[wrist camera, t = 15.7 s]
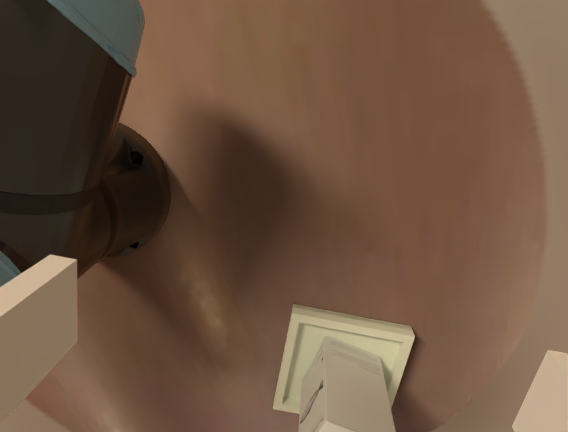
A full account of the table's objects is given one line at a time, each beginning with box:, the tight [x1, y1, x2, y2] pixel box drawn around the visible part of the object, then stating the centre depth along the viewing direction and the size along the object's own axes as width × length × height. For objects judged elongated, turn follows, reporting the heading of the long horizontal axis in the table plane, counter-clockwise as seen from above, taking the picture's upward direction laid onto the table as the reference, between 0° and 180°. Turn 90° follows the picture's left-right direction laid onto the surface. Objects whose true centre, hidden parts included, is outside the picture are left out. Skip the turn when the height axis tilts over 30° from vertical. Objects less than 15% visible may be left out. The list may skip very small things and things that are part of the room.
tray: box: [273, 304, 415, 414], centre depth 48 cm, size 14×14×2 cm
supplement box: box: [299, 336, 396, 432], centre depth 43 cm, size 7×7×13 cm
